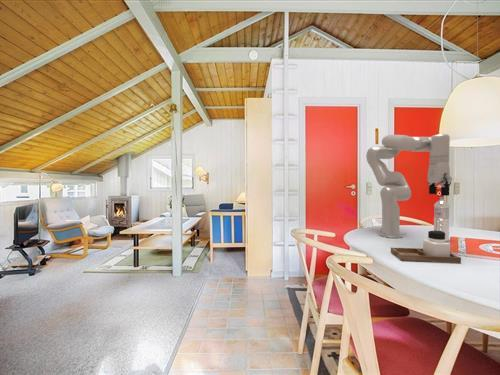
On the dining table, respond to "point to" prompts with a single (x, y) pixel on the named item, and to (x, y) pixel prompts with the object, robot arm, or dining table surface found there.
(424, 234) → the dining table surface
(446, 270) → the dining table surface
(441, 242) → the medicine bottle
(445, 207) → the water bottle
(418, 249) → the tray
